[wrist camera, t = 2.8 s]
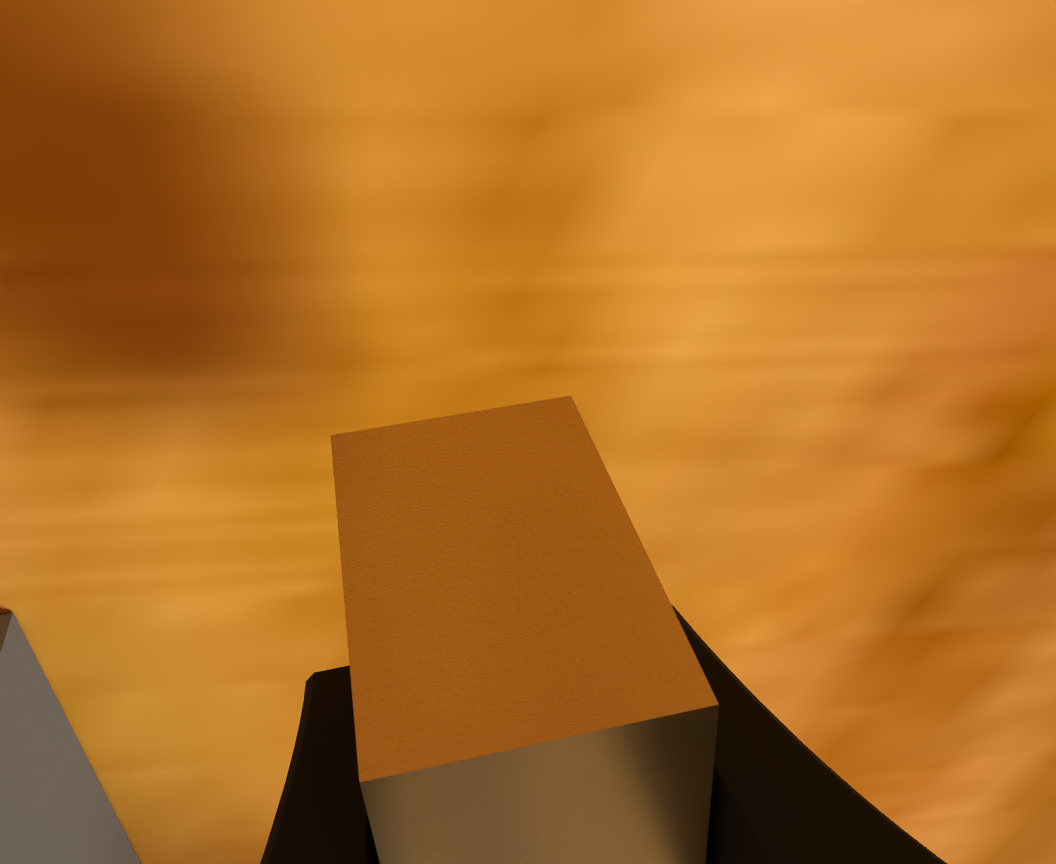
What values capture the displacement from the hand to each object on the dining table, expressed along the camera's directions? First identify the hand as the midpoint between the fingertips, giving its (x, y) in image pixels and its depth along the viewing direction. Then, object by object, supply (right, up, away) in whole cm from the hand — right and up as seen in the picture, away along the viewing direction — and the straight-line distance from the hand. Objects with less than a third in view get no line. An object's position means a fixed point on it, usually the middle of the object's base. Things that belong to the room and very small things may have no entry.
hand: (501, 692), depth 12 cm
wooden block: (0, +1, +2) cm, 2 cm away
